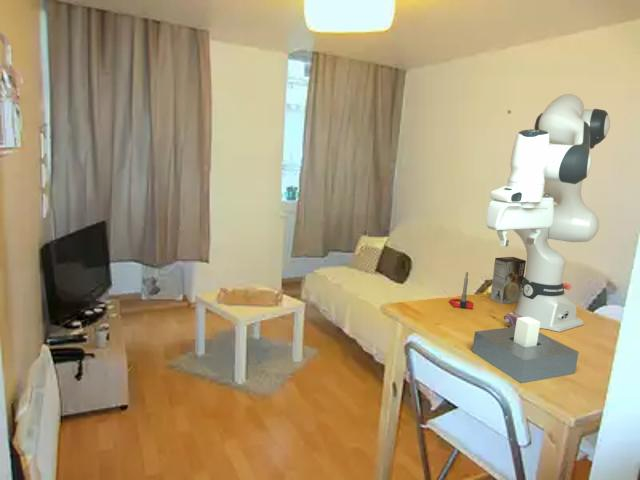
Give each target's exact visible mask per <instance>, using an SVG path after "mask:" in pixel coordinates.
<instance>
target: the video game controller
mask: <svg viewBox="0 0 640 480" xmlns="http://www.w3.org/2000/svg"><path fill="white" fill-rule="evenodd" d="M521 317H523V316H521V315H519V314H515V313H513V312H512V311H511V312H509V313H507V314H505V315H504V316H503V320H504V322H505V323H506V324H507V325H508V327H516V322H517V318H521Z"/></svg>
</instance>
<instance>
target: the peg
mask: <svg viewBox="0 0 640 480" xmlns="http://www.w3.org/2000/svg"><path fill="white" fill-rule="evenodd" d="M540 329H541V328H540V322H539V321H537V320H535V319H533V318H530V317H521V318H517V322H516V328H515V335H514V342H516V343H518V344H520V345H522V346H523V347H530V346H537V340H538V334H539V333H540Z"/></svg>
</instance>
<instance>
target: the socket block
mask: <svg viewBox="0 0 640 480" xmlns="http://www.w3.org/2000/svg"><path fill="white" fill-rule="evenodd" d="M515 328H516V327H510V326H508V327H503V328H502V327H500V328H492V329H485V330H478V331H476V330H475V331H474V336H473V342H472V343H473V344H472V350H471V351H472V353H473V354H475V355H477V357H479V358H482V359H483V360H484V361H486V362H487V363H489V364H491V366H494V367H495V368H496V369H498V370H500V371H501V372H503V373H504V374H506V375H508V376H509V377H511V378H512V379H514V380H515V381H517V382H519V383H520V384H524V383H529V382H536V381H540V380H541V381H542V380H547V379H552V378H559V377H563V375H564V376H568V375H569V374H570V375H574V374H573V373H575V374H576V370H577V369H576V368H577V363H578V358H579V353H580V352H579V351H577V350H576V349H574V348H572V347H570V346H567V345H565V344H564V343H561V342H560V341H557V340H555V339H553V338H551V337H549V336H547V335H546V334H543V333H542V332H539V334H538V340H537V346H530V347H523V346H522V345H520V344H518V343H516V342H514V335H515Z"/></svg>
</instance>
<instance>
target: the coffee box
mask: <svg viewBox="0 0 640 480" xmlns="http://www.w3.org/2000/svg"><path fill="white" fill-rule="evenodd" d="M494 259H495V260H494V266H493V267H494V268H493V273H492V274H493V275H492V283H491V290H490V297H489V298H490V300H492V301H494V302H496V303H499V304H501V305H504V304H505V305H506V304H513V303H518V301H519V297H520V294H521V291H522V290H523V288H522V284H523V283H522V282H523V278H524V277H525V272H526V265H527V259H526V260H525V259H521V258H519V257H515V256H505V257H504V256H503V257H495V258H494Z"/></svg>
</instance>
